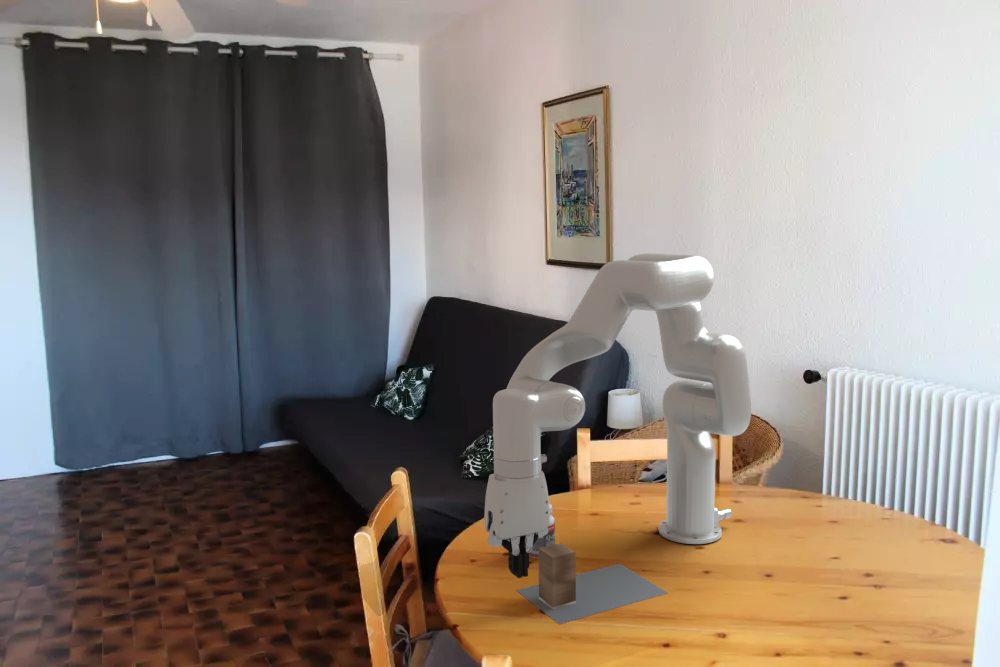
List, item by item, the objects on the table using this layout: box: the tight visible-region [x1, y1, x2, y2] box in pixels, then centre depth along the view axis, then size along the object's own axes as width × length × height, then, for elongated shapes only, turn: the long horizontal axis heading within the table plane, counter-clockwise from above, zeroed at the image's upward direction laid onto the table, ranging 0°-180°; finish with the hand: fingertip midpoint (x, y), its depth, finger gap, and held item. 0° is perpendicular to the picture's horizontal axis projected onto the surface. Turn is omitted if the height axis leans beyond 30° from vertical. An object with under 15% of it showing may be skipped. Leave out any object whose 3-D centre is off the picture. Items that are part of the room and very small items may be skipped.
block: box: [538, 542, 577, 609], centre depth 141 cm, size 4×4×9 cm
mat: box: [515, 563, 669, 625], centre depth 145 cm, size 22×14×1 cm, turn 118°
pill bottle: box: [529, 503, 556, 559], centre depth 162 cm, size 6×6×10 cm
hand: (518, 574), depth 138 cm, fingers closed
